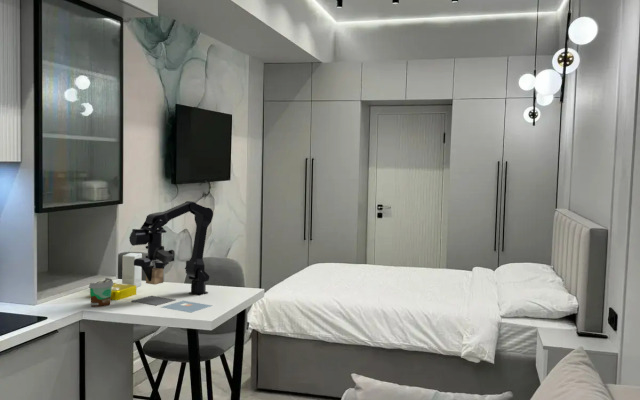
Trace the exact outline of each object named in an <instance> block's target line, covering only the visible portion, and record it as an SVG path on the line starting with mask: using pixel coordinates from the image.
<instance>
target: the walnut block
mask: <svg viewBox="0 0 640 400" xmlns="http://www.w3.org/2000/svg"><path fill="white" fill-rule="evenodd" d="M163 283H164V270H163V269H161V268H156V267H153V269H152V279H151V281H149V280H148V278H147V276H146V275H145V284H147V285H148V284H149V285H154V286H155V285H158V284H159V285H160V284H163Z"/></svg>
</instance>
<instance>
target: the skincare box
mask: <svg viewBox="0 0 640 400" xmlns="http://www.w3.org/2000/svg"><path fill="white" fill-rule="evenodd" d="M137 258H143V254H142V253H140V252H139V253H138V252H129V253H126V254H123V255H122V261H121V263H122V270H121V272H122V274H121V275H122V277H121V284H130V285H136V288H138V287H140V286H142V274H143V273H142V272H143V269H142V267H140V266H134V260H135V259H137Z"/></svg>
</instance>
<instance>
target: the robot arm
mask: <svg viewBox="0 0 640 400" xmlns="http://www.w3.org/2000/svg"><path fill="white" fill-rule="evenodd" d="M187 213H190V214H192V215H194V222H195V225H196V227H195V234H194V241H193V247H192V251H191V253H192V254H191V257H190V259H189V260H186V261H185V267H184V270H185V274H186V275H187V277H188V279H189V280H190V281H191V285H190V292H188V294H189V295H195V296H202V295H205V294H208V293H209V292H208V291H206V287H207V286H206V284H207V282H208V281H209V280H210V275H209V274H208V273H207V272H206V270H205V268H206V267H205V266H206V265H205V262H204V258H203V257H204V251H205V245H206V239H207V238H206V237H207V231H208V227H209V226H210V224H211V223H212V221H213V217H214V211H213V210H212V208H210V207H205V206H203V205H201V204H198V203H196V202H195V201H190V200H186V201H185V202H183V203H181V204H179V205H176V206H173V207H171V208H169V209H167V210H164V211H160V212H154V213H153V212H152V213H149V214H148V215H146V217H145V221H144V222H143V224H142V225H141V227H140V228H137V229H136V228H132V231H131V232H130V235H129V243H130V245H131V246H134V247H135V246H145V245H146V246H145V249H146V250H147V255H145V257H142V258H137V259H135V260H134V266H140V267H142V272H144V274H145V277H146V276H147V278H148V280H149V281H151V279H152V269H153V268H161V269H163V271H164V270H165V267H166V266H167V265H169V264H170V263H171V262H175V255H176V253H175V250H174V249H170V250H169V249H168V250H165V246H164V245H163V244H162V243H163V239H162V237H163V236H162V234H165V233H167V230H166V229H165V228H164V226H166V225H167V224H168V223H169V222H170V221H171V220H173V219H176V218H177V217H181V216H182V215H185V214H187ZM153 263H154V265H153Z"/></svg>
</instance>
